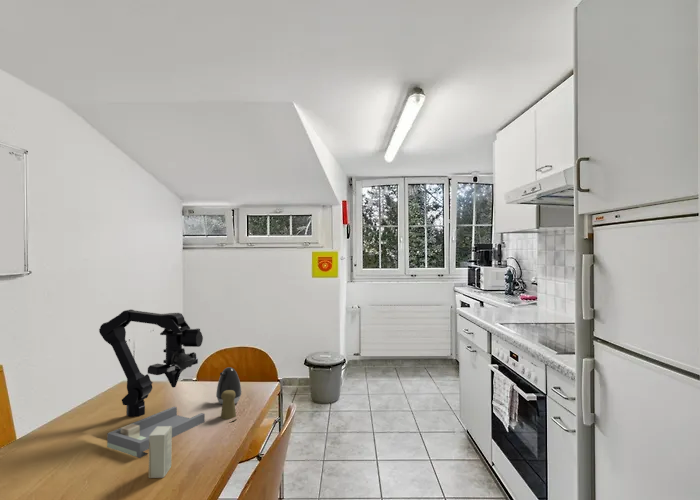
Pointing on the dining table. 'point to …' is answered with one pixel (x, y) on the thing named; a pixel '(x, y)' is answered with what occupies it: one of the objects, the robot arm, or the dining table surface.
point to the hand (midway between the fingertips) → (173, 387)
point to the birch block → (131, 431)
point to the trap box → (147, 427)
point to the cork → (228, 405)
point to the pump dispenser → (228, 384)
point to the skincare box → (160, 451)
